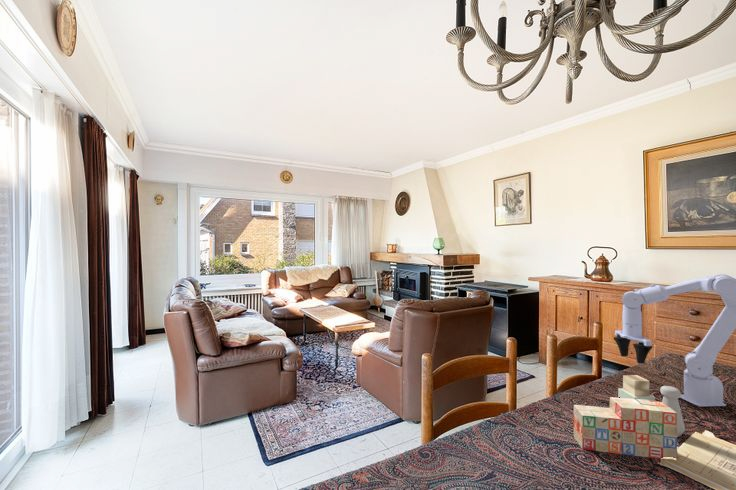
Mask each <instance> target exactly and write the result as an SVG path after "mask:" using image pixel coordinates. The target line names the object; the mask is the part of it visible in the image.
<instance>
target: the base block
mask: <svg viewBox="0 0 736 490" xmlns="http://www.w3.org/2000/svg"><path fill="white" fill-rule="evenodd" d="M617 393H618V394H617V398H619V397H620V398H628V399H643V400H649V401H656V397H655V396H654V395H652V394H650V393H649V396H634V395H632V394H630V393H628V392H627V391H625V390H623V387H621V388H619V387H618V388H617Z"/></svg>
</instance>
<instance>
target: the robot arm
mask: <svg viewBox="0 0 736 490" xmlns="http://www.w3.org/2000/svg"><path fill="white" fill-rule="evenodd" d="M712 290H713V291H714V292H715V293H716V294H717V295H718V296H719V297H720V298H721V300H722V302H723V303H724V305H725V306H724V307H723V309H722V311H721V312H720V313H719V315H718V316H717V318H716V319H715V321H714V323H713V324H712V326H711V327H710V328H709V330H708V331H707V333H706V335H705V336H704V337H703V339H702V340H701V342H700V344H698V346H696V347H695V348H694V349H693V351H691V352H690V353H687V354H686V355H685V357H684V363H685V366H686V369H685V370H683V394H681V397H680V398H679V399H682V400H684V401H686V402H689V403H691V404H693V405H695V406H697V407H726V406H727V404H726V403H724V385H723V383H722V381H721V379H719V377H717V376H716V375H713V372H714V370H713V369H714V368H713V366H714V364H715V363H716V361H717V357H718V355H719V353H720V352H721V351H722V349H723V347H724V346H725V345H726V343H727V342H728V340H729V338H730V337H732V334H733V333H734V332H735V330H736V278H735V277H733V276H731V275H728V274H715V275H714V276H712V275H709V276H703V277H698V278H694V279H691V280H686V281H683V282H679V283H674V284H672V285H668V286H663V285H660V284H654V283H652V284H649V286H648V287H644V288H639V289H638V288H635V289H634V291H632V290H629V291H626V292H625V293H624V294H623V295H622V297H621V302H622V304H623V305H622V311H621V312H622V314H621V315H622V317H621V318H622V330H620V329H616V330H614V335H615V336H613V341H615V343H616V345H617V348H618V350H619V353H620V356H621V357H628V355H629V347H630V344H631V341H633V342H636V343H632V345H633V348H634V350H635V354H636V362H637V364H640V365H641V364H645V363H646V359H647V356H648V354H649V353H650V351H651V350H652V348H653V345H652V340H650V339H648V338H647V337H645V336H643V322H642V321H643V318H642V317H643V315H642V313H643V312H642V311H641V309H642V305H650V304H651V305H652V304H654V303H660V302H663V301H667V300H668V298H669V297H670V296H673V295H678V294H683V293H688V292H695V291H704V292H709V293H712Z"/></svg>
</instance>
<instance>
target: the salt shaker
mask: <svg viewBox="0 0 736 490" xmlns="http://www.w3.org/2000/svg"><path fill="white" fill-rule="evenodd" d="M659 389H660V390H659V391H660V393H661V395H662V396H663V397H662V400H661V402H662V403H664V404H665V405H667V406H668V407H670V408H671V409H672V410H673V411H675V412H676V413H677V428H678V429H677V430H678V431H677V433H678V434H677V438H678V437H682V435H683V434H684V432H685V430H686V427H685V426H686V425H685V422H684V418H683V414H682V409H681V407H680V403H679V399H681V398H680V397H681V395H682V394H681V390H680V389H679V388H676V387H674V386H670V385H662V386H660V388H659Z"/></svg>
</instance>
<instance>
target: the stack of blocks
mask: <svg viewBox="0 0 736 490" xmlns="http://www.w3.org/2000/svg"><path fill="white" fill-rule="evenodd" d="M677 429H678V428H677V413H676V412H675V411H673V410H672V409H671V408H670V407H668V406H667V405H665V404H664V403H662V401H656V400H655V401H649V400H643V399H628V398H619V397H616V396H615V397H613V396H611V397H609V407H602V406H591V405H581V404H573V438H574V440H576V442H577V443H578V445H579V447H580V448H581V450H589V451H595V452H602V453H609V454H611V453H612V454H618V455H627V456H636V457H645V458H652V459H659V460H660V459H661V458H663V457H673V458H677V459H678V437H677V434H678V433H677V431H678V430H677ZM661 460H662V459H661Z"/></svg>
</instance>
